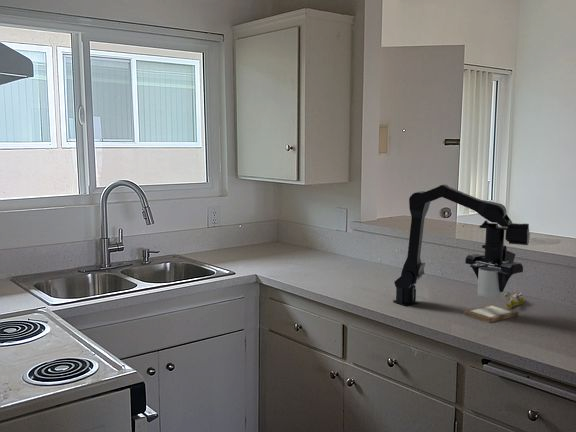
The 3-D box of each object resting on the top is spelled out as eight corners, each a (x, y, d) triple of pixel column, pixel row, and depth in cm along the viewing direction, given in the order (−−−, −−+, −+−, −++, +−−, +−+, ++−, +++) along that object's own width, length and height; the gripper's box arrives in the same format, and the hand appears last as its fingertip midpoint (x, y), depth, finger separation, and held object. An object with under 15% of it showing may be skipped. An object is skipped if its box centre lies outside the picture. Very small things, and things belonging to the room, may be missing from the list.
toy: (500, 303, 197) (505, 290, 210) (509, 315, 196) (514, 302, 209) (513, 295, 194) (517, 283, 207) (523, 308, 193) (526, 295, 207)
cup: (474, 296, 186) (476, 269, 185) (482, 290, 194) (484, 264, 193) (497, 300, 182) (499, 272, 181) (505, 293, 191) (506, 267, 189)
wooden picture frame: (489, 322, 181) (489, 318, 181) (464, 314, 189) (464, 310, 189) (517, 315, 188) (517, 311, 188) (492, 308, 197) (492, 304, 196)
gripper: (535, 244, 182) (532, 292, 184) (487, 236, 198) (485, 280, 200) (512, 247, 176) (509, 297, 178) (465, 238, 192) (463, 284, 194)
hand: (491, 289), depth 188 cm, fingers closed on cup, 7 cm apart
